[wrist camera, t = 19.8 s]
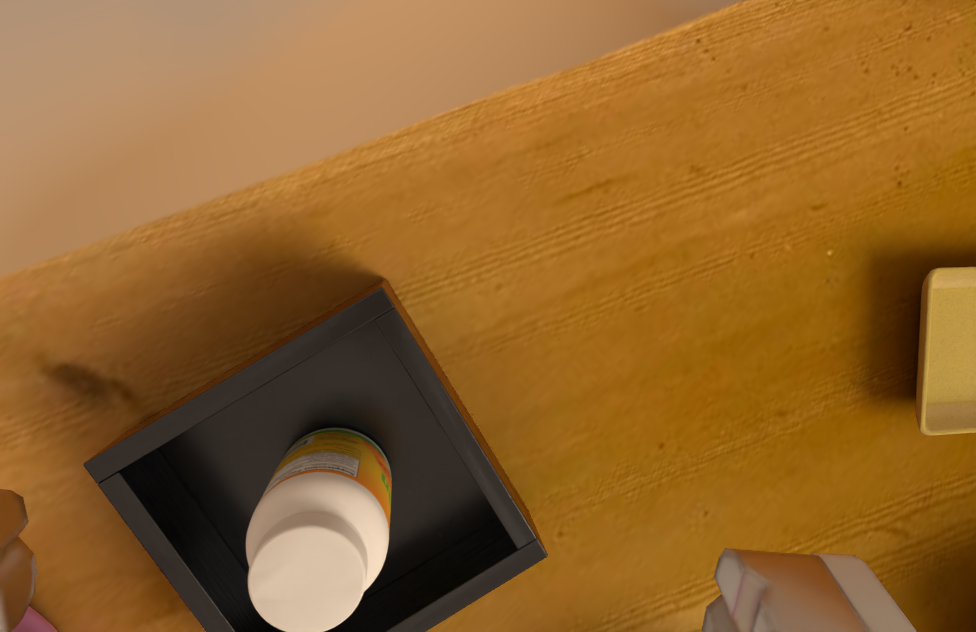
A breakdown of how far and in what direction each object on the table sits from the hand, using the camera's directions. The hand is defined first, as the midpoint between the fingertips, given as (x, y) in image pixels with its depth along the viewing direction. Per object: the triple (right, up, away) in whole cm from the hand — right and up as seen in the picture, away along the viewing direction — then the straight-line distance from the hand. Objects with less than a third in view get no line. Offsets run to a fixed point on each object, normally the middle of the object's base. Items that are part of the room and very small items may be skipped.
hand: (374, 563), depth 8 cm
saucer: (+27, +1, +29) cm, 40 cm away
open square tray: (-6, -5, +26) cm, 27 cm away
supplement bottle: (-6, -5, +25) cm, 26 cm away
